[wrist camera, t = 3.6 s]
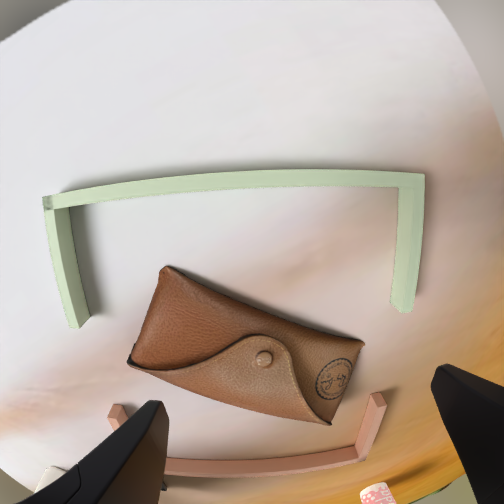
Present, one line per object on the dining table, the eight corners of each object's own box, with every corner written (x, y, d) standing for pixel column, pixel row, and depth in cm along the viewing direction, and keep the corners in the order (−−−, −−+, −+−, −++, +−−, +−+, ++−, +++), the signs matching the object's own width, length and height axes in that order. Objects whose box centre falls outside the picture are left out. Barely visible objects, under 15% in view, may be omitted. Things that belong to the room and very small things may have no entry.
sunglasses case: (374, 339, 21) (375, 415, 17) (327, 368, 26) (322, 431, 21) (157, 258, 19) (115, 341, 14) (149, 307, 24) (121, 373, 19)
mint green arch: (400, 300, 21) (412, 311, 19) (80, 316, 20) (69, 327, 18) (409, 173, 18) (424, 173, 16) (57, 194, 17) (42, 197, 15)
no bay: (360, 448, 26) (365, 460, 24) (141, 458, 25) (138, 470, 23) (379, 392, 23) (387, 405, 21) (113, 404, 23) (107, 417, 21)
